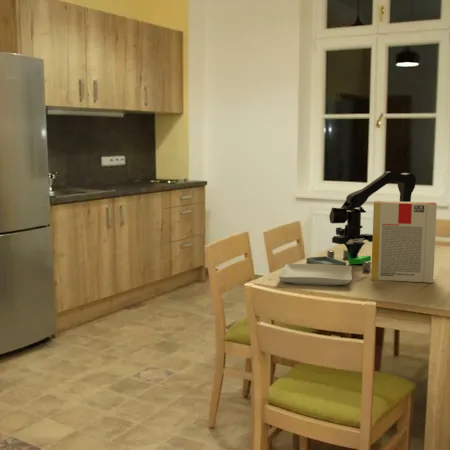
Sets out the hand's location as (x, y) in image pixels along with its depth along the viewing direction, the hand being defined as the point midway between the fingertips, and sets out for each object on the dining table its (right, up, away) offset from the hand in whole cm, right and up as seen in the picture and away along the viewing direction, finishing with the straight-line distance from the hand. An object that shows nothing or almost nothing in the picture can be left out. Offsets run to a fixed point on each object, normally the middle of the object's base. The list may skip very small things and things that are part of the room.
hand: (353, 258), depth 265 cm
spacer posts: (+3, -3, +2) cm, 5 cm away
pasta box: (+13, -7, -27) cm, 31 cm away
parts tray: (-12, -3, +1) cm, 12 cm away
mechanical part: (+5, -2, +4) cm, 7 cm away
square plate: (-20, -7, -27) cm, 34 cm away
